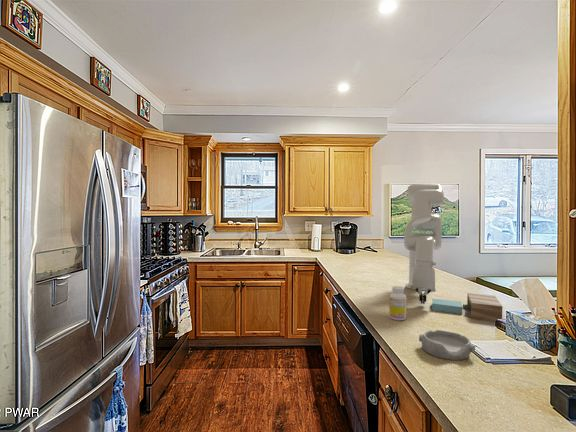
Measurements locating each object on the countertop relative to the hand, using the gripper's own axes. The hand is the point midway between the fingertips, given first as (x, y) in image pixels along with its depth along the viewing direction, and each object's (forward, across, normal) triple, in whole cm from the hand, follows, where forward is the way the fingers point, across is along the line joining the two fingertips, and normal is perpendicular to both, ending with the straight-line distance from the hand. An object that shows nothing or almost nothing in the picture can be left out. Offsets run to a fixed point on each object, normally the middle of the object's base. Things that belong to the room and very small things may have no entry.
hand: (422, 302), depth 152 cm
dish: (+2, -8, +49) cm, 50 cm away
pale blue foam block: (+2, -10, 0) cm, 10 cm away
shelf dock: (+2, -24, 0) cm, 24 cm away
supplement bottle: (+2, +9, +23) cm, 25 cm away
